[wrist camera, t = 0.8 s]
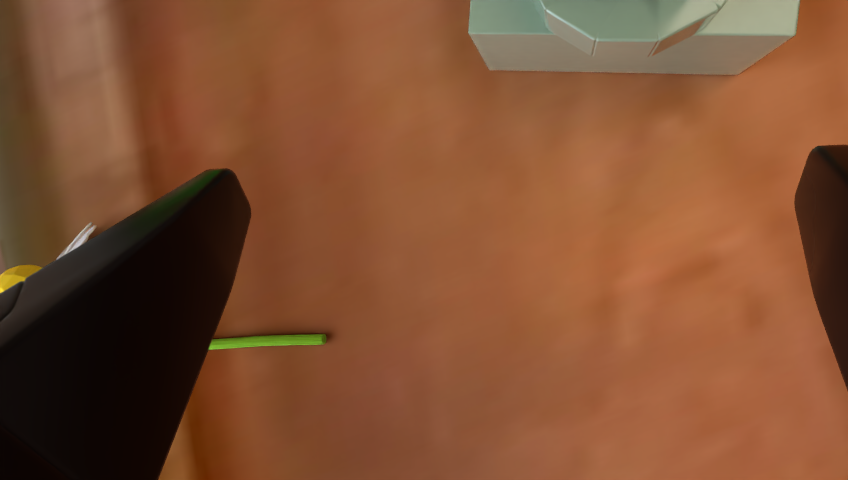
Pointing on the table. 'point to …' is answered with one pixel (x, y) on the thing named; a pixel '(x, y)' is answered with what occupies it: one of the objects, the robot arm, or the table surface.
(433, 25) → the table surface
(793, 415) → the table surface
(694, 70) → the lamp base
